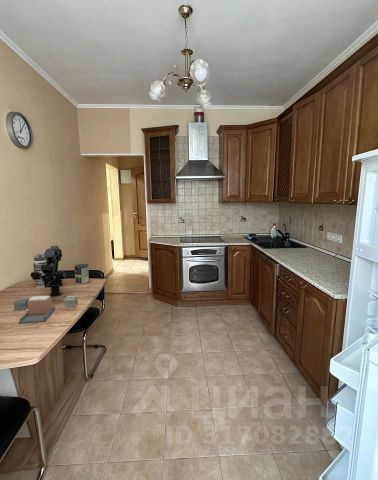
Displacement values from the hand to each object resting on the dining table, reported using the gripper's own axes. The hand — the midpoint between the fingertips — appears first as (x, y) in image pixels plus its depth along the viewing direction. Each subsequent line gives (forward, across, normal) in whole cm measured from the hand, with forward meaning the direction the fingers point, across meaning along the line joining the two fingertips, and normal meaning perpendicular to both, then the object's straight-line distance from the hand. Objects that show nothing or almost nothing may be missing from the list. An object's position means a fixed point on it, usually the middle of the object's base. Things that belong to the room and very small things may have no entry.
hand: (45, 287), depth 151 cm
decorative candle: (-21, -18, +39) cm, 48 cm away
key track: (+18, 0, 0) cm, 18 cm away
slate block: (+8, -14, +9) cm, 19 cm away
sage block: (+9, +14, +9) cm, 19 cm away
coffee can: (-24, +10, +42) cm, 50 cm away
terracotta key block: (+15, 0, +1) cm, 15 cm away
